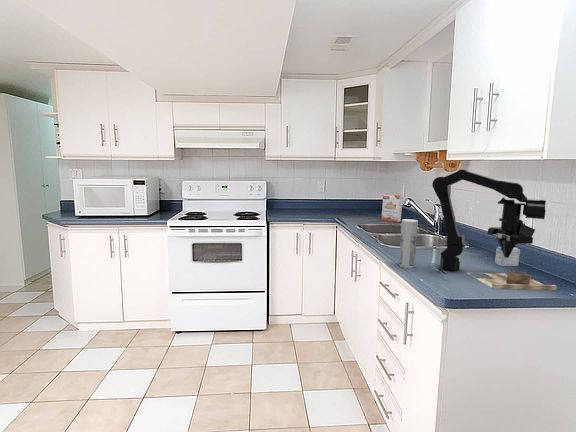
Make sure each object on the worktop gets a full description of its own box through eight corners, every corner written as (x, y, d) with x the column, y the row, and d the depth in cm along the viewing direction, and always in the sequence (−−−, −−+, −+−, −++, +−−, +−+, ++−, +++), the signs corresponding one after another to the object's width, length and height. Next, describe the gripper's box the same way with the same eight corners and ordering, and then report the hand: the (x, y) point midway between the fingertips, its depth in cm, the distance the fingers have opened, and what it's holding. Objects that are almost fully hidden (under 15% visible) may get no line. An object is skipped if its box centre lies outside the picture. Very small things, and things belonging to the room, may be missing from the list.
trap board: (493, 291, 127) (493, 284, 126) (466, 275, 146) (466, 269, 145) (555, 293, 127) (556, 285, 127) (520, 276, 146) (521, 270, 146)
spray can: (400, 263, 161) (403, 218, 159) (415, 265, 158) (419, 220, 156) (397, 266, 156) (400, 220, 153) (412, 269, 153) (416, 221, 150)
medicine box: (511, 265, 163) (513, 246, 162) (518, 268, 158) (520, 249, 157) (494, 265, 162) (496, 246, 161) (500, 268, 158) (502, 248, 157)
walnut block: (515, 287, 129) (516, 275, 128) (506, 282, 134) (507, 271, 133) (529, 287, 129) (530, 275, 128) (519, 283, 134) (521, 271, 133)
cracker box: (381, 220, 293) (382, 194, 290) (384, 219, 298) (386, 193, 295) (397, 222, 284) (399, 195, 281) (401, 221, 289) (402, 195, 286)
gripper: (550, 220, 127) (545, 264, 129) (516, 213, 145) (512, 252, 147) (518, 220, 127) (513, 263, 129) (488, 213, 145) (484, 251, 147)
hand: (506, 257), depth 138 cm, fingers closed
